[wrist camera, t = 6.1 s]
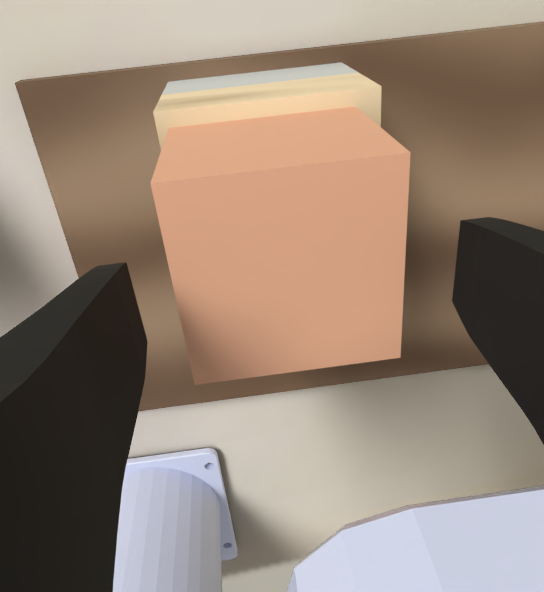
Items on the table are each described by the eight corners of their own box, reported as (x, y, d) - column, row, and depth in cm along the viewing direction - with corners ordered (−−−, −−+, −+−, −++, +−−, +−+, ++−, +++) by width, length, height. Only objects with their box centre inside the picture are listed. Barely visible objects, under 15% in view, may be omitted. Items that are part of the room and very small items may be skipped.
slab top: (359, 249, 19) (377, 283, 17) (195, 269, 19) (192, 306, 16) (358, 72, 16) (381, 86, 14) (161, 94, 15) (153, 111, 13)
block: (356, 270, 16) (400, 357, 13) (199, 290, 16) (194, 385, 12) (356, 106, 14) (410, 152, 10) (168, 127, 14) (150, 183, 10)
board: (520, 351, 26) (526, 358, 26) (124, 404, 25) (123, 413, 25) (586, 16, 18) (597, 17, 18) (20, 80, 18) (14, 83, 17)
